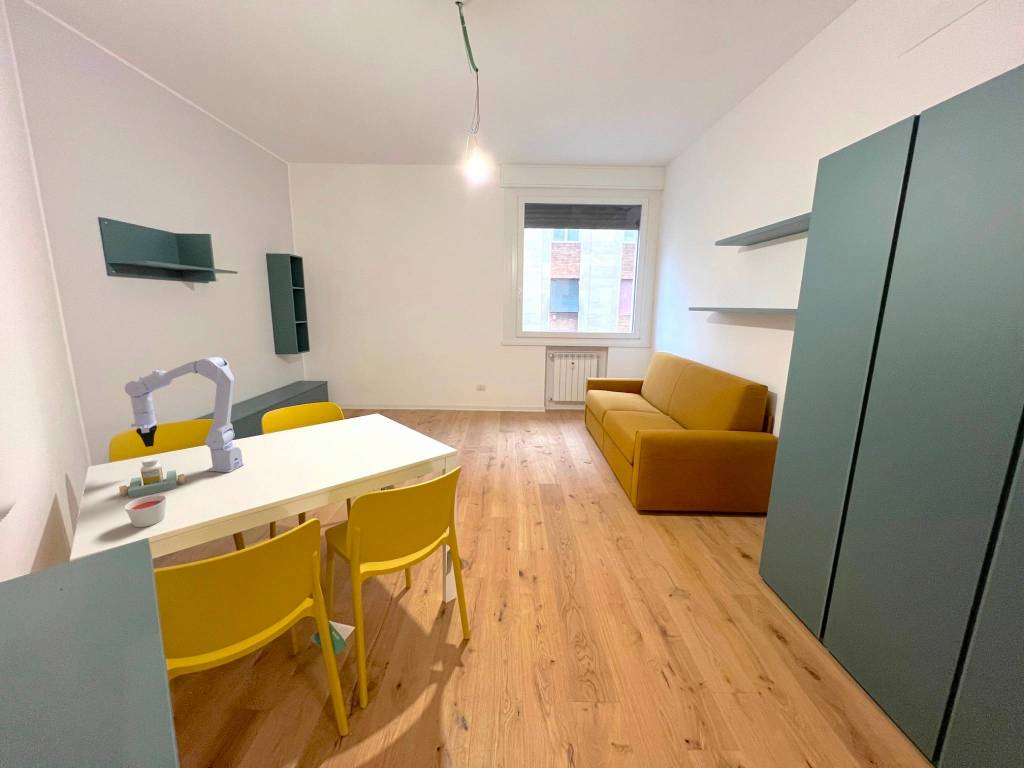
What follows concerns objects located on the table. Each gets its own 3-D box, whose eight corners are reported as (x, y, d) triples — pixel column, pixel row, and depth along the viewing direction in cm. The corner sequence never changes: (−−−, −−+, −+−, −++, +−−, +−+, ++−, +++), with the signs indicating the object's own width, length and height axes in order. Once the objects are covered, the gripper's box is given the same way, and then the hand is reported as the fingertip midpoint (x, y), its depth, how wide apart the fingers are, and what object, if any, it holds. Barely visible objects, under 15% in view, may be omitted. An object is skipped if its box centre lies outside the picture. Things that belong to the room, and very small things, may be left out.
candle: (130, 533, 111) (126, 513, 110) (126, 521, 117) (123, 502, 116) (171, 521, 118) (168, 502, 117) (166, 510, 124) (163, 491, 123)
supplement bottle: (151, 482, 142) (147, 457, 140) (168, 481, 143) (163, 456, 141) (139, 489, 137) (134, 463, 135) (156, 488, 138) (152, 462, 136)
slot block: (123, 486, 138) (121, 479, 138) (185, 474, 149) (183, 467, 148) (119, 500, 129) (117, 491, 129) (185, 486, 140) (183, 478, 139)
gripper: (130, 408, 148) (136, 442, 151) (127, 417, 138) (133, 454, 140) (155, 406, 153) (160, 439, 156) (154, 414, 142) (159, 450, 145)
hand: (149, 446), depth 148 cm, fingers closed
